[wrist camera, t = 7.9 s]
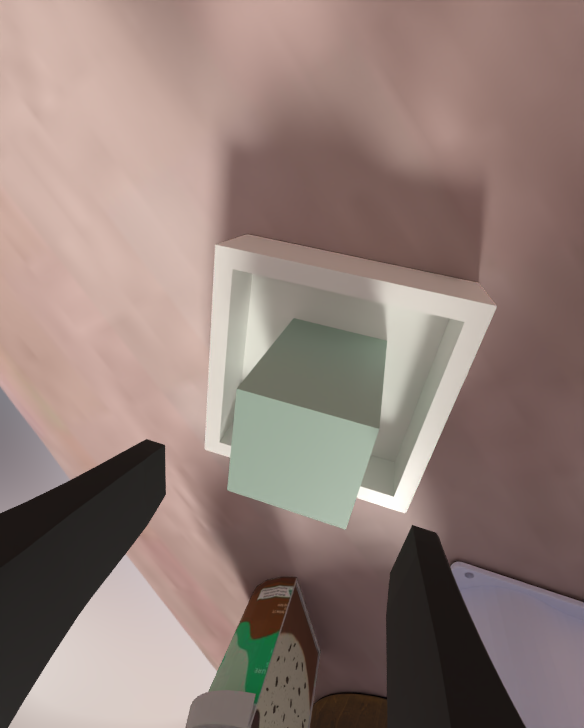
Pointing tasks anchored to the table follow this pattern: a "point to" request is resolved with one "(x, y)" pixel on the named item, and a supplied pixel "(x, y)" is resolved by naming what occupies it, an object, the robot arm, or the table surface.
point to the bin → (358, 315)
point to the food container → (265, 666)
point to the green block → (309, 421)
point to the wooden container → (349, 712)
